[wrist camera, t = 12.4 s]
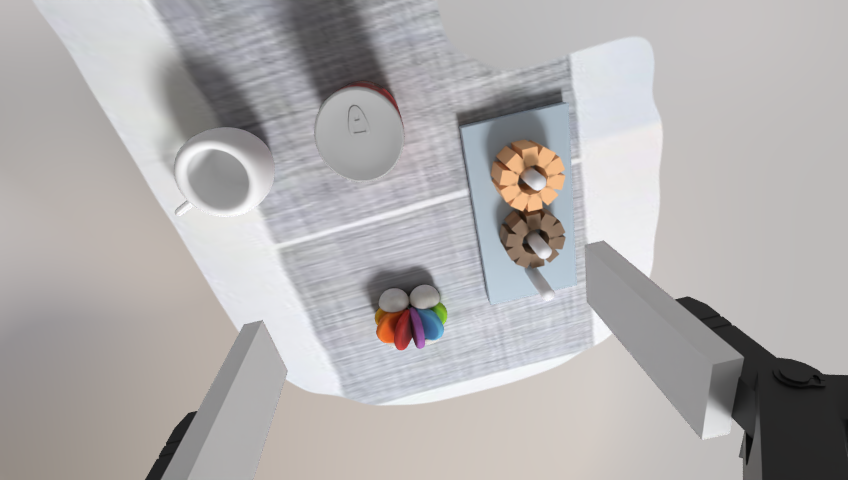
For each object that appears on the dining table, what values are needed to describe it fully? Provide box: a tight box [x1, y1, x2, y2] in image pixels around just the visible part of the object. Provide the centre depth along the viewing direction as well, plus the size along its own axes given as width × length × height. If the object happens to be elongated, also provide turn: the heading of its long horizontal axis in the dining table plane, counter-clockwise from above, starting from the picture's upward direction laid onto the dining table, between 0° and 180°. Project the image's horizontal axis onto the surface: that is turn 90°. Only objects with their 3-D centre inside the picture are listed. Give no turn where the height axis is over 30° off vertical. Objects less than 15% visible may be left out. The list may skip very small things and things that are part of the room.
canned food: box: [314, 81, 405, 182], centre depth 38 cm, size 8×8×11 cm
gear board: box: [459, 102, 577, 305], centre depth 45 cm, size 24×12×8 cm, turn 12°
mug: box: [174, 127, 275, 217], centre depth 40 cm, size 12×8×8 cm
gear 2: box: [499, 207, 566, 268], centre depth 47 cm, size 7×7×3 cm
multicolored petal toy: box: [375, 285, 447, 350], centre depth 50 cm, size 8×10×7 cm
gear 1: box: [491, 139, 566, 212], centre depth 43 cm, size 7×7×4 cm
